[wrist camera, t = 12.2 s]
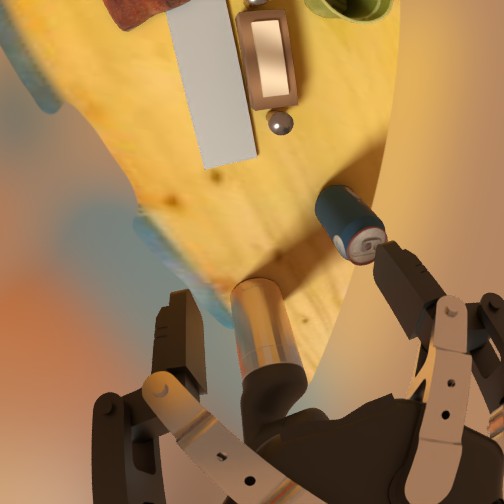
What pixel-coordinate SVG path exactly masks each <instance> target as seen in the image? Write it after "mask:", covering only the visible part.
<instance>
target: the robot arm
mask: <svg viewBox="0 0 504 504" xmlns="http://www.w3.org/2000/svg"><path fill="white" fill-rule="evenodd" d="M373 276H374V280H375V282H376V284H377V286H378V288H379V289H380V291H381V293H382V294H383V296H384V297H385V299H386V301H387V302H388V304H389V305H390V307H391V309H392V311H393V312H394V314H395V316H396V318H397V319H398V321H399V323H400V324H401V326H402V328H403V330H404V331H405V333H406V335H407V337H408V339H409V340H410V339H413V338H415V337H418V338H419V339H420V342H419V345H418V351H417V357H416V362H415V367H414V371H413V376H412V380H411V383H410V386H409V388H408V391H407V393H406V396H405V399H394V397H393V395H392V393H391V394H388V395H386V396H383V397H381V398H378V399H375V400H373V401H370V402H368V403H366V404H364V405H362V406H361V407H359V408H358V409H356V410H355V411H353V412H351V413H350V414H348V415H347V416H345V417H343V418H341V419H338V420H329V418H328V417H327V416H326V415H325V413H324V412H322V411H321V410H319V409H317V408H309V409H305V410H302V411H300V412H297V413H294V414H292V415H289V416H287V417H286V415H287V413H288V411H289V410H290V408H291V407H292V406H293V404H295V402H297V401H298V400H299V399H300V397H302V395H303V394H304V393H305V391H306V389H307V386H308V382H307V377H306V374H305V371H304V368H303V365H302V361H301V358H300V355H299V352H298V348H297V345H296V341H295V338H294V335H293V331H292V328H291V325H290V321H289V318H288V315H287V312H286V308H285V305H284V301H283V298H282V295H281V292H280V289H279V287H278V285H277V284H276V283H275V282H273V281H271V280H269V279H265V278H254V279H249V280H246V281H244V282H242V283H240V284H239V285H237V286H236V287H235V288H234V290H233V291H232V293H231V297H230V299H231V308H232V316H233V324H234V331H235V338H236V346H237V353H238V359H239V366H240V373H241V379H242V386H243V393H242V397H241V415H242V425H243V426H242V427H243V437H244V443H243V442H242V441H241V440H240V439H239V438H237V437H236V436H235V435H234V434H233V433H232V432H230V431H229V430H228V429H227V428H226V427H225V426H224V425H223V424H222V423H221V422H220V421H218V420H217V419H216V418H215V417H214V416H213V415H212V414H211V413H210V412H208V411H207V410H206V409H205V408H204V407H203V406H202V405H201V404H200V397H199V395H203V394H207V382H206V367H205V349H204V330H203V321H202V316H201V314H200V311H199V309H198V307H197V305H196V303H195V301H194V298H193V297H192V294H191V292H190V290H189V289H185V290H180V291H175V292H171V294H170V302H169V306H166V307H162V308H161V310H160V312H159V313H158V316H157V317H156V324H155V334H154V338H155V339H154V346H153V359H152V360H153V361H152V371H151V375H150V376H149V377H148V378H147V379H146V380H145V381H144V383H143V386H142V388H140V389H138V390H137V391H134V392H132V393H129V394H127V395H125V396H122V397H120V396H119V395H118V394H116V393H112V392H108V393H105V394H103V395H101V396H100V397H99V398H98V399H97V400H96V402H95V404H94V408H93V421H92V422H93V423H92V490H93V504H166V499H165V492H164V485H163V477H162V468H161V459H160V448H159V436H161V435H164V434H166V433H169V432H171V433H172V435H173V436H174V437H175V438H176V440H177V441H176V442H177V444H178V445H179V446H180V448H181V449H182V450H183V451H184V452H185V453H186V454H187V455H188V457H189V458H190V459H191V460H192V461H193V462H194V463H195V464H196V465H197V466H198V467H199V468H200V469H201V470H202V471H203V472H204V473H205V474H206V475H207V476H208V477H209V478H210V479H211V480H212V481H213V482H214V483H215V484H216V485H217V486H219V487H220V488H221V489H222V490H223V491H224V492H225V493H226V494H227V495H228V496H227V497H226V499H225V500H224V502H223V504H504V500H503V494H502V493H503V492H502V487H503V475H504V300H503V299H502V298H501V297H500V296H499V295H497V294H495V293H486V294H484V295H483V297H482V299H481V301H480V302H479V303H466V304H464V303H463V301H461V300H460V299H459V298H457V297H455V296H451V295H446V293H445V292H444V291H443V290H442V288H441V287H440V285H439V284H438V283H437V281H436V280H435V279H434V278H433V276H432V275H431V274H430V272H429V271H427V269H426V268H425V266H424V265H422V263H421V261H420V260H419V259H418V258H417V257H416V255H414V254H413V253H411V252H409V251H408V250H406V249H404V250H402V249H401V248H400V246H399V245H398V244H397V243H396V242H395V241H389V242H385V243H381V244H378V245H377V247H376V253H375V261H374V269H373ZM490 338H491V339H492V341H493V342H494V344H495V346H496V348H497V350H498V351H499V353H500V356H501V362H500V360H499V358H498V357H497V354H496V353H495V351H494V349H493V347H492V345H491V344H490V342H489V339H490ZM471 371H472V373H473V375H474V377H475V379H476V381H477V384H478V386H479V388H480V390H481V392H482V395H483V397H484V400H485V402H486V404H487V407H488V409H489V412H490V414H491V416H490V419H489V424H488V426H487V432H488V433H489V434H490V438H489V437H487V436H485V435H483V434H481V433H479V432H477V431H475V430H473V429H471V428H469V427H467V426H465V425H464V422H465V417H466V411H467V404H468V397H469V389H470V379H471Z"/></svg>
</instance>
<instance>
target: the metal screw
mask: <svg viewBox="0 0 504 504" xmlns="http://www.w3.org/2000/svg"><path fill="white" fill-rule="evenodd" d="M266 119H267V121H268V125H269V128H270V129H271V131H272V132H273V133H275V134H277V135H286V134H288V133H289V132H290V131H291V130H292V128H293V124H294V123H293V119H292V117H291V116H290V115H289V114H287V113H286V112H282V111H279V112H277V111H275V110H271V111H269V112H268V113H267V115H266Z"/></svg>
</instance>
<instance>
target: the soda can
mask: <svg viewBox="0 0 504 504" xmlns="http://www.w3.org/2000/svg"><path fill="white" fill-rule="evenodd" d="M315 213H316V216H317V218H318V220H319V221H320V223H321V224H322V226H323V227H324V229H325V231H326V232H327V234H328V235H329V237H330V238H331V240H332V242H333V243H334V245H335V246H336V248H337V250H338V251H339V253H340V255H341V256H342V257H343V258H345V259H347V260H349V261H351V262H352V263H353V264H355V265H367V264H370V263H372V262H373V261H375V253H376V247H377V245H378V244H381V243H385V242H387V241H388V240H387V235H386V233H385V227H384V224H383V222H382V221H381V220H380V219H379V218H378V217H377V216H376V214H375V213H374V212H373V211H372V210H371V209H370V208H369V207H368V206H367V205H366V204H365V203H364V202H363V200H362V199H361V198H360V197H359V196H358V195H357V194H356V193H355V192H354V191H353V190H352V189H351V188H349V187H347V186H344V185H334V186H330V187H328V188H326V189H325V190H323V191H322V192H321V193H320V195H319V197H318V199H317V201H316V204H315Z"/></svg>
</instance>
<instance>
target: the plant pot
mask: <svg viewBox="0 0 504 504" xmlns="http://www.w3.org/2000/svg"><path fill="white" fill-rule="evenodd" d="M304 2H305V4H306V6H307V7H308V8H309V9H310V10H311V11H312V12H313V13H315V14H317V15H319V16H321V17H324V18H343V19H345V20H347V21H350V22H353V23H358V24H372V23H376V22H379V21H381V20H382V19H384V18H385V17H386V16H387V15H388V14H389V12H390V10H391V8H392V5H393V0H304Z"/></svg>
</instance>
